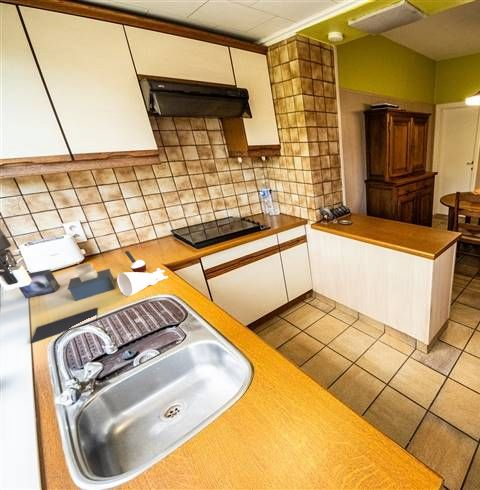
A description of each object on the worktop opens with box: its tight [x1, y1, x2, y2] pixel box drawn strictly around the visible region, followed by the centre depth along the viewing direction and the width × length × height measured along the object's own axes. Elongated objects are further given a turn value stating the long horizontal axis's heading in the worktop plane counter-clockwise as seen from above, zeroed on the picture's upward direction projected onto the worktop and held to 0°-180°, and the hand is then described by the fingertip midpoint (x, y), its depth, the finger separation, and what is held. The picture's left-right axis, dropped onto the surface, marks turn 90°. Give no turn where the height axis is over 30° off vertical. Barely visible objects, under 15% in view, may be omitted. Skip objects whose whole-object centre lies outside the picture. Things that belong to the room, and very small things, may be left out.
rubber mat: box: [30, 307, 99, 344], centre depth 107 cm, size 18×12×1 cm, turn 132°
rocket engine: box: [116, 268, 169, 297], centre depth 132 cm, size 12×12×18 cm
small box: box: [18, 268, 61, 299], centre depth 130 cm, size 11×6×10 cm, turn 118°
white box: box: [0, 264, 32, 292], centre depth 95 cm, size 6×5×6 cm
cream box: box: [74, 262, 98, 282], centre depth 128 cm, size 6×5×6 cm
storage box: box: [67, 268, 116, 302], centre depth 130 cm, size 14×12×7 cm
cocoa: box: [124, 250, 147, 273], centre depth 146 cm, size 10×6×12 cm, turn 44°
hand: (15, 280), depth 95 cm, fingers closed on white box, 5 cm apart
